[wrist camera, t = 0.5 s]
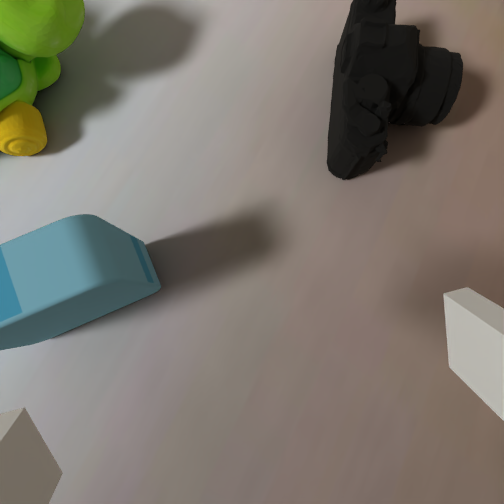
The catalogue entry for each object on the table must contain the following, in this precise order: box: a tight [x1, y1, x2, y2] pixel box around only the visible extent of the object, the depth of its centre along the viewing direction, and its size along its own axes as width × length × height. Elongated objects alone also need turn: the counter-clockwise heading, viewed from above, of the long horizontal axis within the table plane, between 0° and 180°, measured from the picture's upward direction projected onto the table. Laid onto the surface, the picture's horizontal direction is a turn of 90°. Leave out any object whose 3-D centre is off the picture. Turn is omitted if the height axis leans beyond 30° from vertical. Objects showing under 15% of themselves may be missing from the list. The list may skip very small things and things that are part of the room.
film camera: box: [327, 0, 463, 180], centre depth 29 cm, size 15×10×9 cm, turn 173°
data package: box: [0, 214, 161, 350], centre depth 26 cm, size 12×4×12 cm, turn 114°
